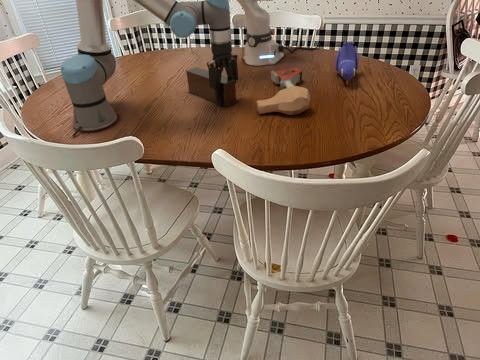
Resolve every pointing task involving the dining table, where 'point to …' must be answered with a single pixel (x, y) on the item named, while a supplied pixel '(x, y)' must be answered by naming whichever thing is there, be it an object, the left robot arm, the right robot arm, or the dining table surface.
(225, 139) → the dining table surface
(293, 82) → the tape dispenser
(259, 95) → the dining table surface
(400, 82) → the dining table surface
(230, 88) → the bar
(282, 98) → the squash
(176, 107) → the dining table surface
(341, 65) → the toy
